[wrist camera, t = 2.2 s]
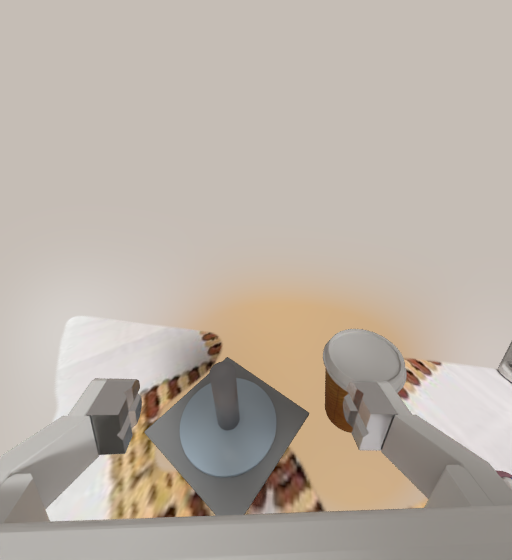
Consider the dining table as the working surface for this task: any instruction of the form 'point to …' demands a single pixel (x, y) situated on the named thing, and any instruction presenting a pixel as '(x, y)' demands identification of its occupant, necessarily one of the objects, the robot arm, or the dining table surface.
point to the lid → (227, 424)
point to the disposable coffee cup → (358, 367)
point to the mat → (239, 489)
